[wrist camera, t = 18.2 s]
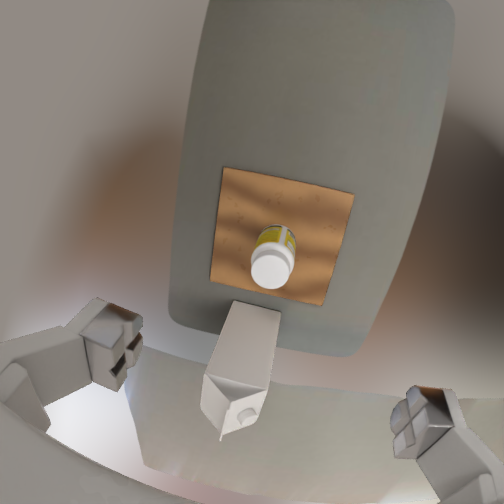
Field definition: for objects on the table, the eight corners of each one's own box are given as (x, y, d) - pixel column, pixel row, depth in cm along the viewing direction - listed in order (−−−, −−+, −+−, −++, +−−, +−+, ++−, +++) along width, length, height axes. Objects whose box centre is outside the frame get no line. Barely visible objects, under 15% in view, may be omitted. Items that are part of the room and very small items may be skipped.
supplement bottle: (252, 247, 41) (239, 279, 33) (268, 216, 38) (258, 243, 31) (285, 264, 41) (279, 299, 33) (303, 234, 39) (301, 264, 31)
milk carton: (226, 335, 48) (190, 433, 31) (233, 299, 45) (193, 399, 28) (270, 346, 48) (250, 449, 31) (281, 311, 45) (263, 418, 28)
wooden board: (225, 166, 37) (223, 167, 37) (354, 194, 36) (354, 195, 35) (210, 278, 44) (209, 280, 44) (321, 303, 43) (321, 306, 42)
